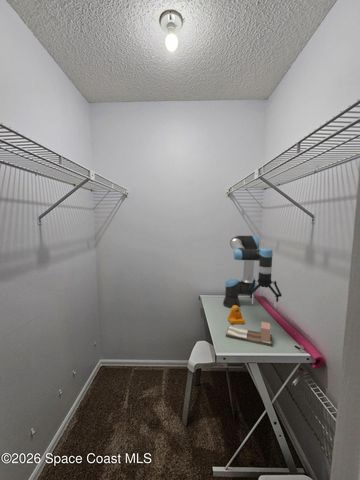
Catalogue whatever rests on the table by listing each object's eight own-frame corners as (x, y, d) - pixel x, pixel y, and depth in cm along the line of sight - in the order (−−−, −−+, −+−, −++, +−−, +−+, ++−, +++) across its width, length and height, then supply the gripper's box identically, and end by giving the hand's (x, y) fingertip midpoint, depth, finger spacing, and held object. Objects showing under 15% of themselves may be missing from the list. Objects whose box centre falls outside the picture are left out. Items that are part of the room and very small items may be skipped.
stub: (261, 333, 136) (261, 321, 135) (269, 334, 134) (269, 323, 133) (261, 340, 127) (261, 327, 127) (269, 342, 125) (270, 329, 125)
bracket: (230, 324, 151) (231, 309, 150) (227, 320, 158) (228, 305, 157) (245, 324, 151) (245, 308, 151) (241, 319, 159) (241, 304, 158)
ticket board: (228, 328, 145) (228, 325, 145) (271, 336, 135) (271, 333, 135) (225, 337, 134) (225, 334, 134) (272, 346, 124) (272, 343, 123)
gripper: (244, 272, 132) (243, 303, 134) (287, 276, 123) (285, 310, 124) (245, 269, 139) (243, 299, 141) (286, 273, 129) (284, 305, 131)
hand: (263, 304), depth 133 cm, fingers open, 13 cm apart
